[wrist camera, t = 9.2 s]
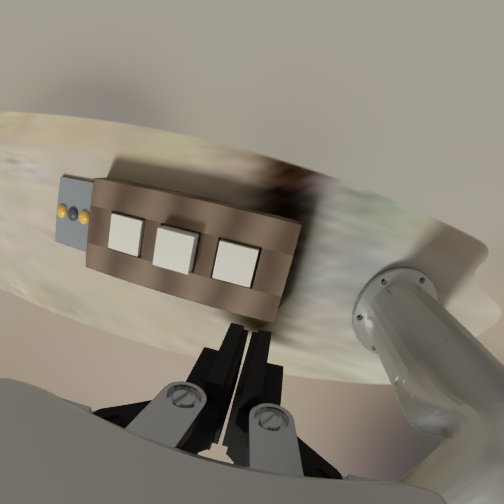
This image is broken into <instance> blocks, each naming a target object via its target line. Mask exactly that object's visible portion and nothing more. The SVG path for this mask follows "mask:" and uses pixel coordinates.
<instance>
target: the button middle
mask: <svg viewBox="0 0 504 504" xmlns="http://www.w3.org/2000/svg"><path fill="white" fill-rule="evenodd" d="M199 236H200V233H196V232H192V231H188V230H184V229H180V228H176V227H172V226H168V225H163V226H161V227H158V229H157V236H156V243H155V250H154V257H153V265H155V266H159V267H162V268H166V269H169V270H173V271H176V272H180V273H183V274H187V275H188V274H189V273H190V272H191V271H192V270H193V268H194V263H195V257H196V252H197V246H198V241H199Z"/></svg>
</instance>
